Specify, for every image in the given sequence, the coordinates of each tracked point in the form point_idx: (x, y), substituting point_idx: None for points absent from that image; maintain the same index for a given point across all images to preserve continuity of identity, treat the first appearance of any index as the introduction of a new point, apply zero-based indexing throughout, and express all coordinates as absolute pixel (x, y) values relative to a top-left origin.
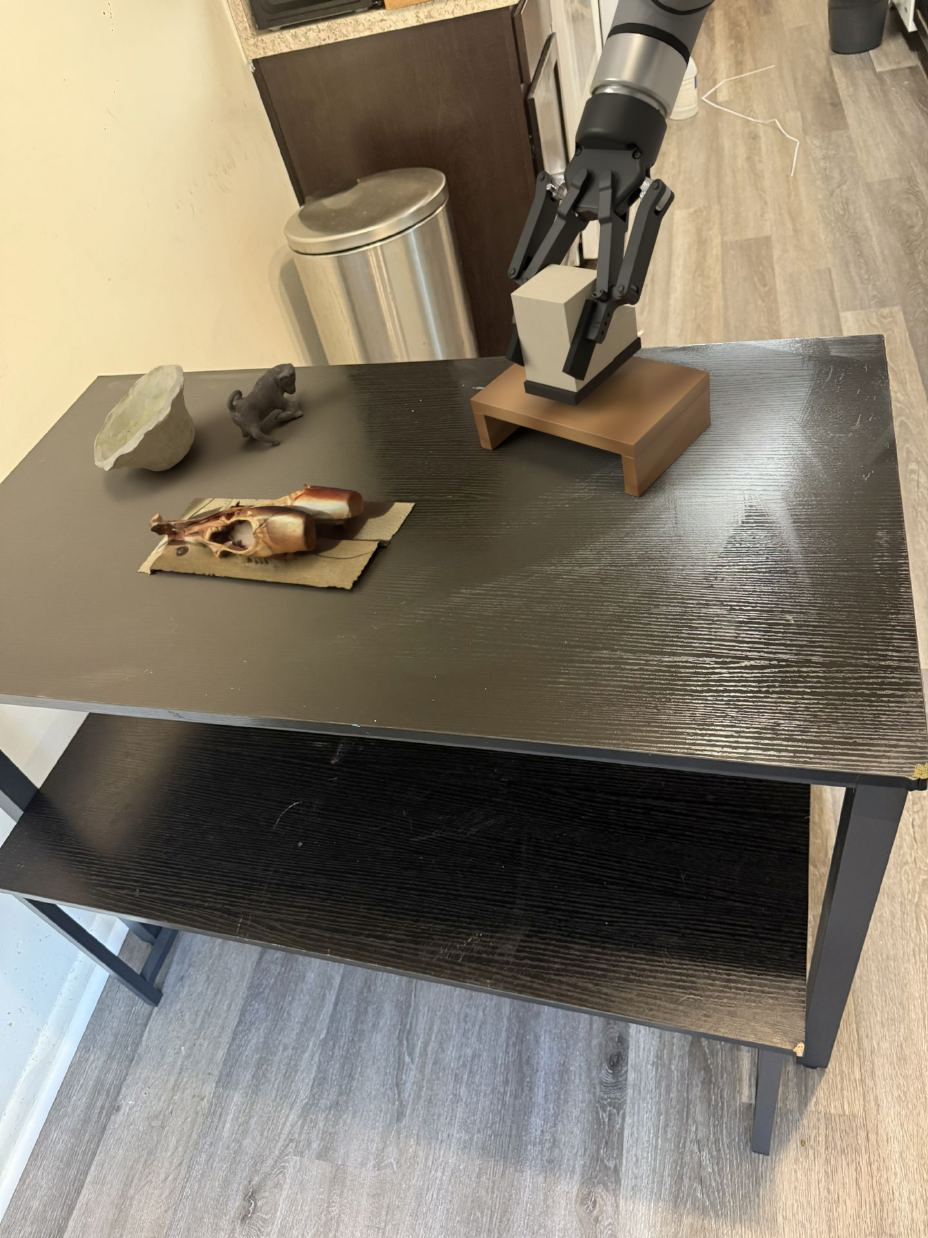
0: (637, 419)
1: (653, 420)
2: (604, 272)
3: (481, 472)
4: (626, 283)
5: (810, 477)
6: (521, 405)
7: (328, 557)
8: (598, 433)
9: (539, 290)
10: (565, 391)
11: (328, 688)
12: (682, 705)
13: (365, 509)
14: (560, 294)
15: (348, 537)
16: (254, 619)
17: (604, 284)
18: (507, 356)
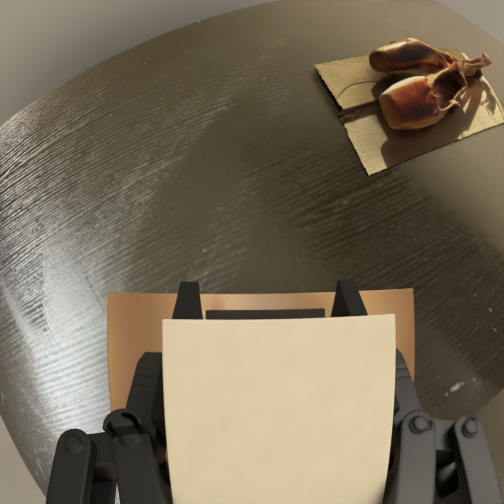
0: (134, 348)
1: (113, 352)
2: (133, 492)
3: (345, 255)
4: (61, 457)
5: (27, 385)
6: (328, 310)
7: (364, 81)
8: (165, 297)
9: (310, 369)
10: (229, 314)
11: (249, 19)
12: (30, 126)
13: (402, 148)
14: (212, 369)
15: (381, 114)
16: (355, 36)
17: (126, 461)
18: (349, 281)
